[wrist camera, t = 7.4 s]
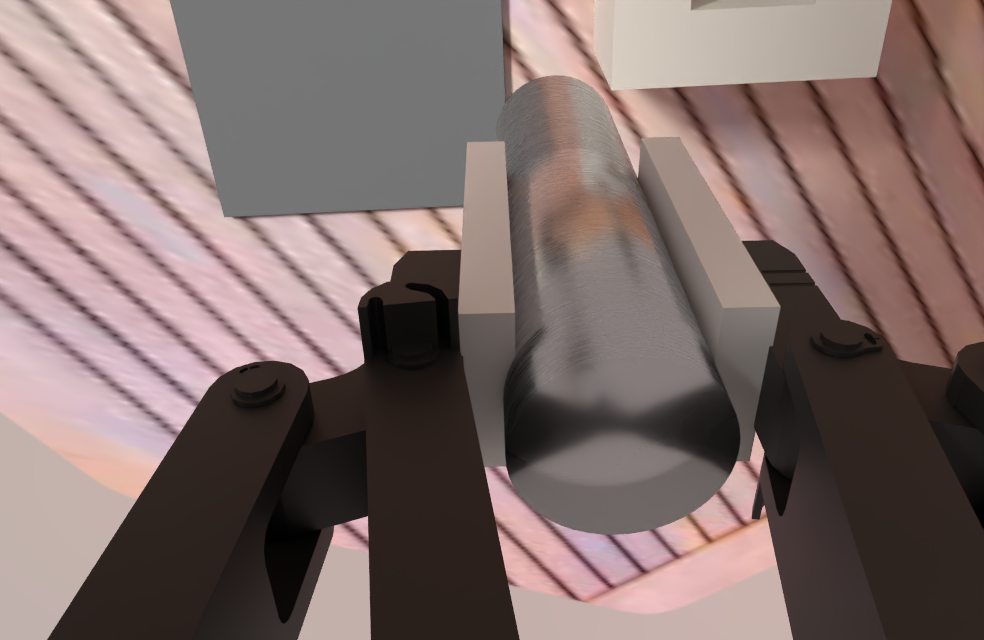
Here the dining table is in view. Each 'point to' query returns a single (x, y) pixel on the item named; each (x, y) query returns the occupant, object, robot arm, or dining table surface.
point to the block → (736, 41)
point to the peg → (600, 331)
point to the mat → (342, 99)
